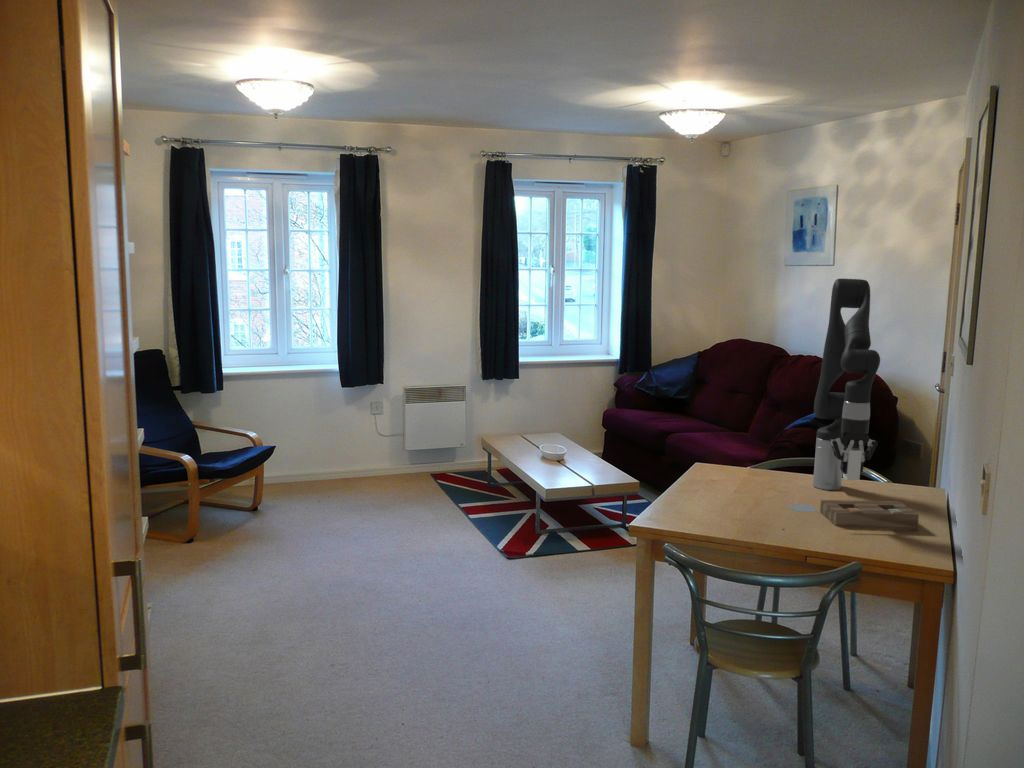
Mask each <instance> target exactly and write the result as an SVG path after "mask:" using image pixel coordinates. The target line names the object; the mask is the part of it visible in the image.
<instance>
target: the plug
mask: <svg viewBox="0 0 1024 768" xmlns="http://www.w3.org/2000/svg"><path fill="white" fill-rule="evenodd" d="M846 450H847V449H846ZM861 456H862V451H860V450H859V448H852V449H851V450H849V455H848V460H847V462H848V465H847V474H844V473H842V478H843V479H845V480H847V481H860V478H861V474H860V468H861Z"/></svg>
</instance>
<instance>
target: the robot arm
mask: <svg viewBox="0 0 1024 768" xmlns="http://www.w3.org/2000/svg"><path fill="white" fill-rule="evenodd" d="M829 308H830V309H829V317H828V318H829V319H828V325H827V326H828V327H827V333H826V337H825V341H824V348H823V352H822V353H823V354H822V361H821V369H820V370H821V371H820V375H819V381H818V385H817V389H816V394H815V397H814V401H813V402H814V403H813V413H814V416H815V417H816V418H817V419H823V420H834V421H833V422H832V423H831V424H829V425H825V426H823V427H819V428H818V429H817V431H816V438H815V439H816V441H815V453H814V468H813V478H812V479H813V480H812V486H813V487H815V488H817V489H819V490H820V489H821V490H827V491H838V490H840V489H842V480H843V473H844V474H847V465H848V462H847V460H848V455H849V450H851V449H852V448H859V450H860V451H862V456H861V468H860V475H861V474H862V473H863V471H864V464H865V462H866V461H871V459H872V458H873V455H874V453H875V451H876V449H877V446H878V445H879V444H878V443H879V442H878V441H876V440H874V439H871V438H870V437H869V429H870V418H871V393H872V386H873V382H874V380H875V377H876V374H877V372H878V369H879V367H880V364H881V356H880V354H879V352H878V351H877V350H875V349H870V348H871V345H872V344H871V343H872V341H871V333H870V313H871V286H870V284H869V282H868V280H866V279H862V278H857V279H856V278H836V280H835V281H834V282H833V285H832V288H831V297H830V306H829ZM842 308H844V309H857V311H856V312H855V313H854V314H853V315H852V316H851V317H850V318H849V320H848V321H847V322H846V323H845V321H844V319H843V316H842V312H841V310H842ZM845 372H846V373H848V374H864V376H862V378H860V379H856V380H850V381H847V382H846V383H845V389H844V392H833V391H830V390H831V388H832V386H833V385H834V383H835V382H836V381H837V380H838V379H839V378H840V377H841V376H842V375H843V374H844V373H845ZM865 446H867V449H866V450H865V449H864V448H865ZM846 449H847V450H846Z"/></svg>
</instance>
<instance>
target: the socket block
mask: <svg viewBox="0 0 1024 768" xmlns="http://www.w3.org/2000/svg"><path fill="white" fill-rule="evenodd" d="M819 513H820V514H821V515H822V516H823V517H824V518H826V519H827V520H828V521H829V522H830V523H831V524H832V525H834V526H835V527H869V528H870V527H872V528H876V527H877V528H878V527H879V528H890V529H892V530H893V531H907V532H908V531H910V532H913V531H914V532H916V531H917V532H918V528H919V516H920V513H917V512H916V511H914V510H913V509H911V508H910V507H908V506H907V505H905V504H904V503H903V502H901V501H897V500H895V501H892V500H854V499H853V500H852V499H851V500H850V499H849V500H848V499H847V500H846V499H820V510H819Z"/></svg>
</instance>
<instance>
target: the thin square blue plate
mask: <svg viewBox="0 0 1024 768" xmlns="http://www.w3.org/2000/svg"><path fill="white" fill-rule="evenodd" d="M788 506H789V507H790V508H791V509H792V510H793V511H794V512H803V513H804V512H805V513H807V512H808V513H811V512H812V513H818V512H819V510H818V511H817V509H815V508H814V507H813V506H812V505H811V504H788Z"/></svg>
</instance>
